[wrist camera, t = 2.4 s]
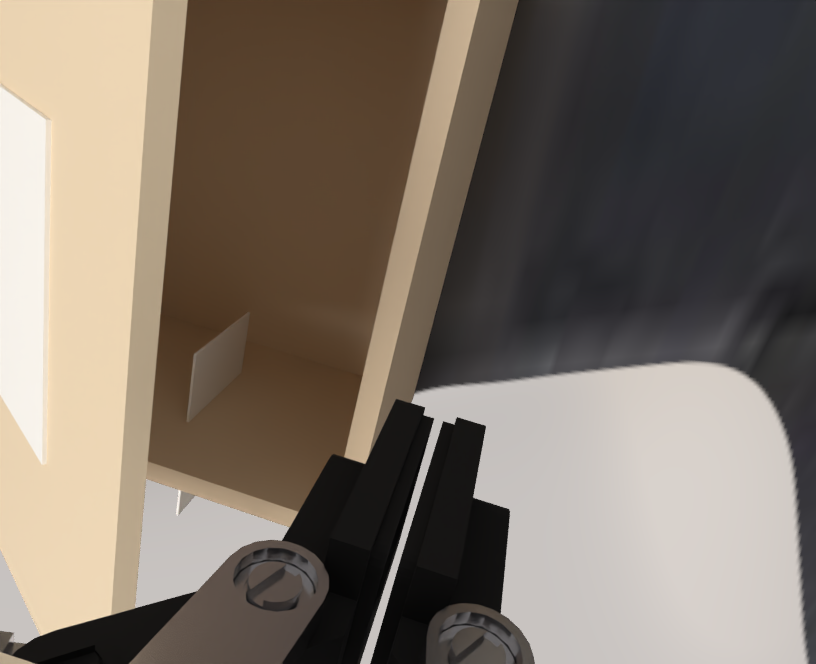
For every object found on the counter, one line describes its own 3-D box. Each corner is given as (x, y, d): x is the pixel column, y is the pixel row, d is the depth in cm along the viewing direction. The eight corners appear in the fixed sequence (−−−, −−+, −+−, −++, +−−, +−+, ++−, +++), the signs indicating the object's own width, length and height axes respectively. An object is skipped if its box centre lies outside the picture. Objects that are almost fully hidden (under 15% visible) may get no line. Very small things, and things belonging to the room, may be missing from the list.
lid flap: (213, -292, 8) (166, -317, 8) (122, 753, 16) (96, 767, 16) (-79, -217, 18) (-107, -227, 18) (-47, 413, 26) (-65, 417, 26)
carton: (524, -23, 27) (500, -85, 16) (396, 461, 37) (326, 627, 26) (162, -109, 29) (-79, -217, 18) (129, 376, 39) (-42, 497, 28)
